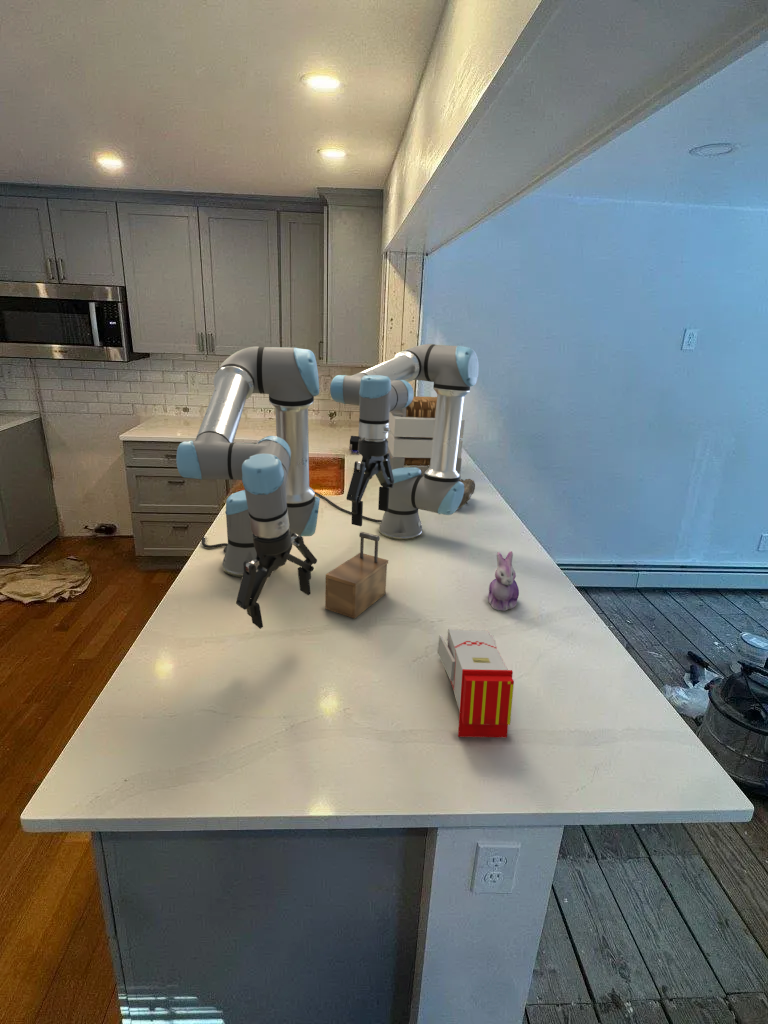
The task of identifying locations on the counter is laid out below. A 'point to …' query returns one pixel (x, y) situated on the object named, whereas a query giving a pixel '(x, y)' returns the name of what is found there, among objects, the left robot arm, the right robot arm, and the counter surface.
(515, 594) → the figurine
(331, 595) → the chest
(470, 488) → the fossil
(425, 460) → the white wooden crate
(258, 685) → the counter surface
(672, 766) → the counter surface
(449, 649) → the toy
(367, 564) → the door
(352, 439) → the figurine character
